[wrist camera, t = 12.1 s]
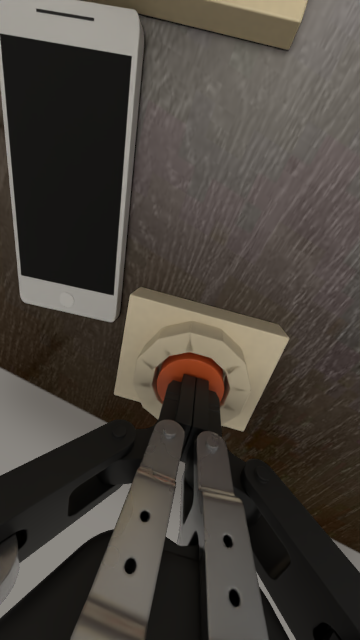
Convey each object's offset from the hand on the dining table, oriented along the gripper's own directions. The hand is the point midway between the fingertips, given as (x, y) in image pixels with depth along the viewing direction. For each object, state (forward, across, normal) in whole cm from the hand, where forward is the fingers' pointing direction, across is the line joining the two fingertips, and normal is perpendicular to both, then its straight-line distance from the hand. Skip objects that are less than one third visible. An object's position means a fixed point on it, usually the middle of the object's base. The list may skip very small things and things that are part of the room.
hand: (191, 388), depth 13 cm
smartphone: (+4, +10, -9) cm, 14 cm away
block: (+4, 0, 0) cm, 4 cm away
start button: (+2, 0, 0) cm, 2 cm away
